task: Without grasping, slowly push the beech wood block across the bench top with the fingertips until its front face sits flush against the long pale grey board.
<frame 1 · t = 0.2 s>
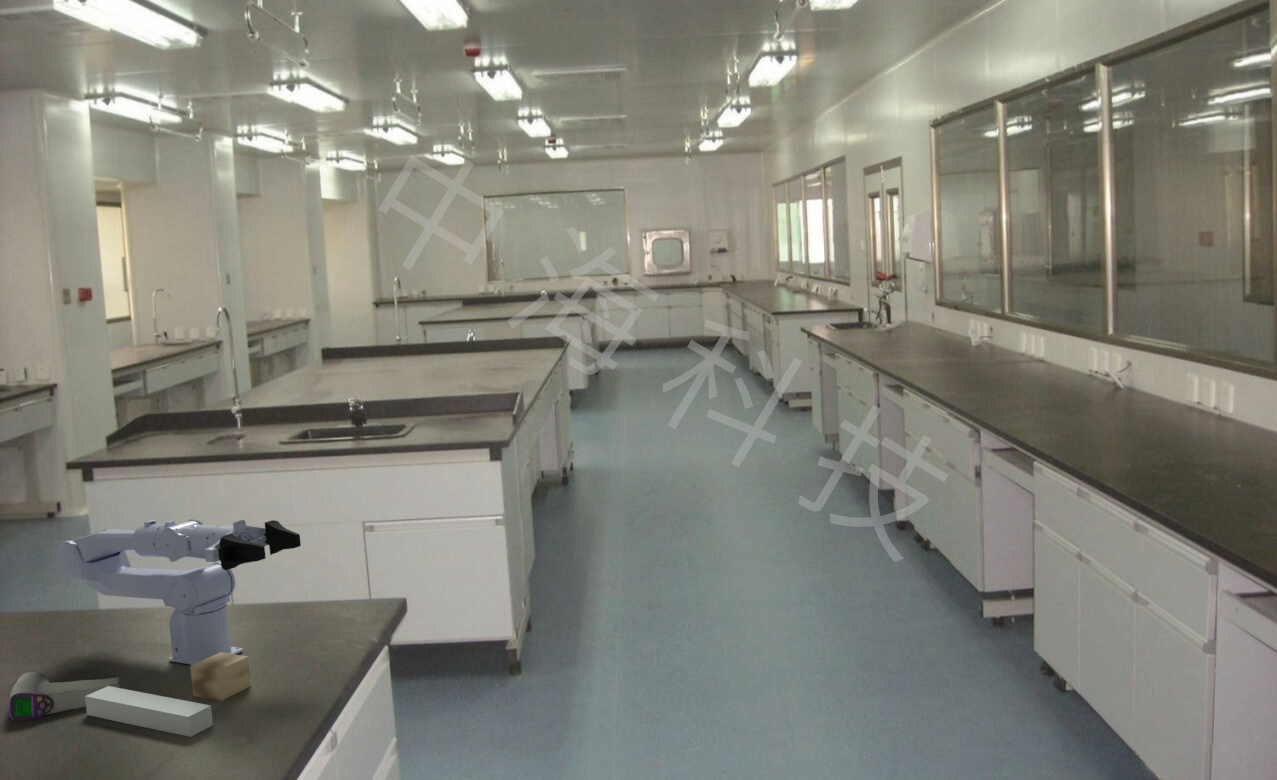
hand: (281, 546, 169), 21 cm above the counter, fingers open, 7 cm apart
block: (222, 691, 165), on the counter
infrared thermometer: (68, 701, 165), on the counter
board: (148, 720, 155), on the counter
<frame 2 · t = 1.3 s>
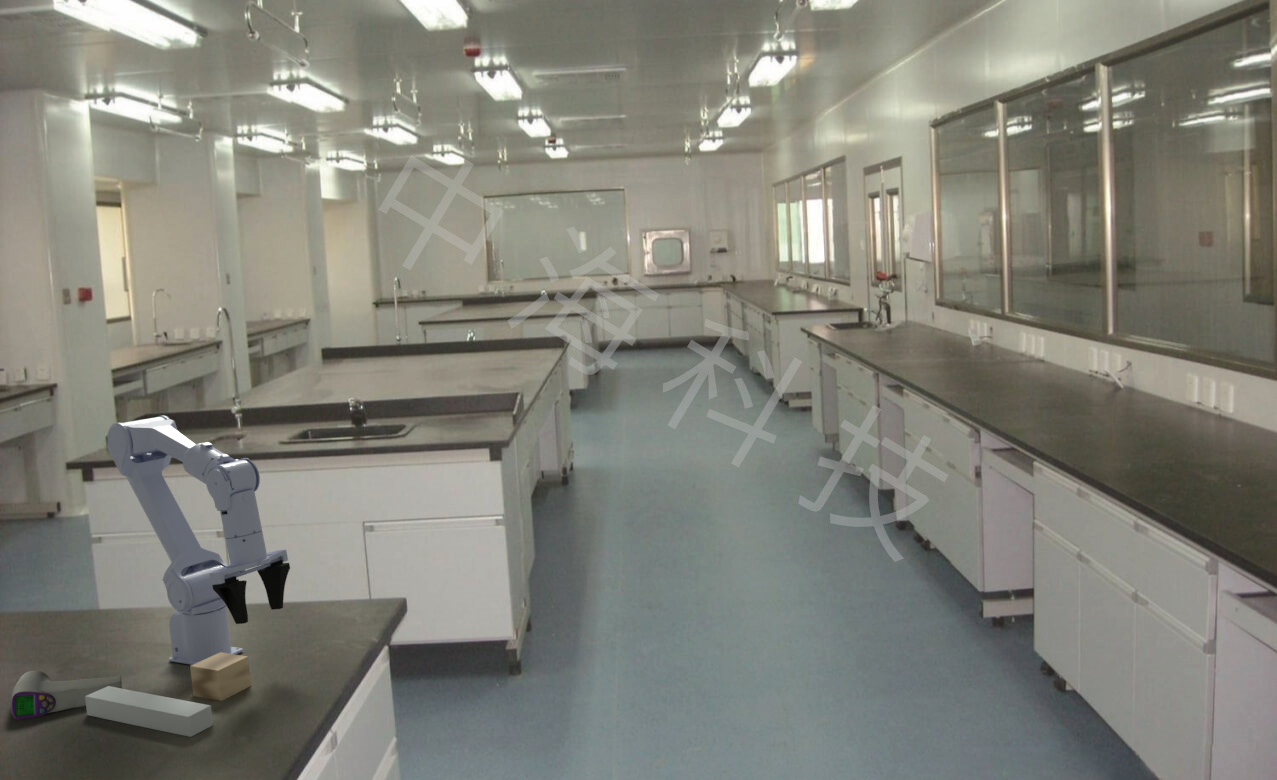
hand: (259, 615, 170), 10 cm above the counter, fingers open, 7 cm apart
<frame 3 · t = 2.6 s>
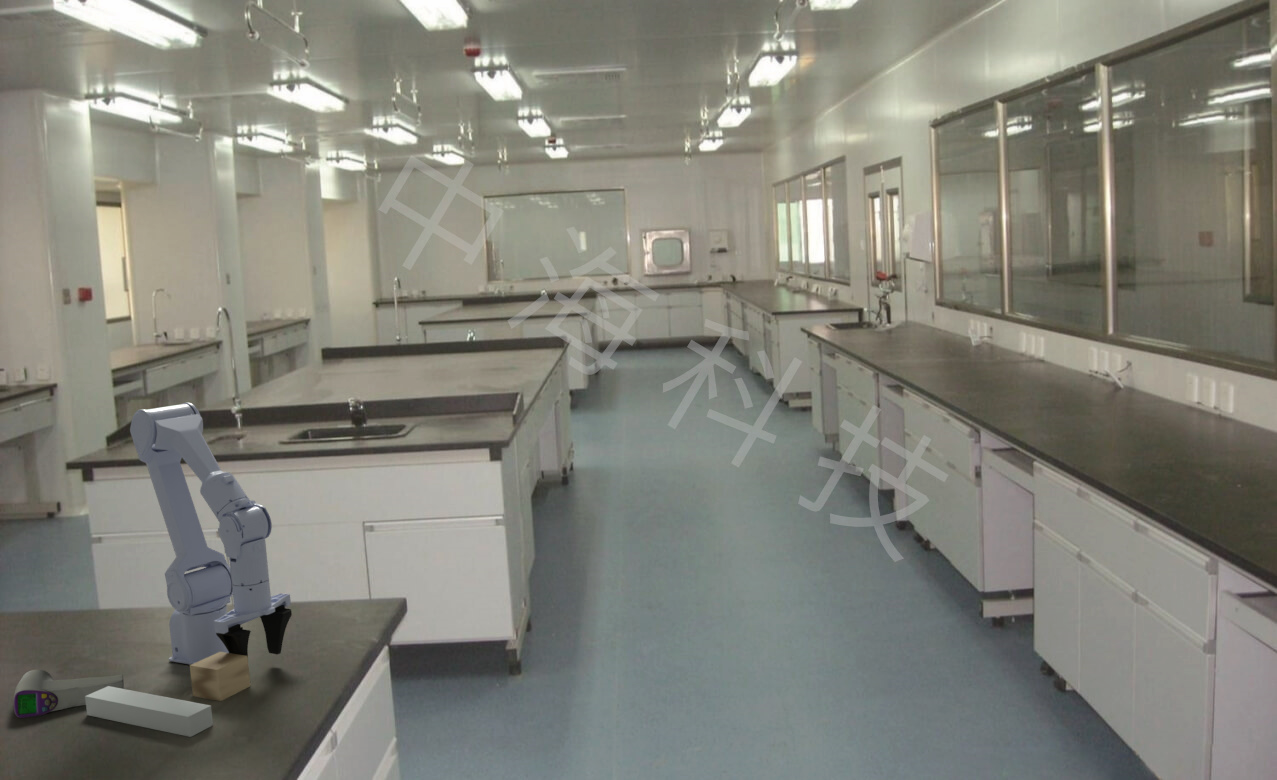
hand: (258, 661, 171), 2 cm above the counter, fingers open, 7 cm apart
block: (222, 691, 165), on the counter, touching gripper
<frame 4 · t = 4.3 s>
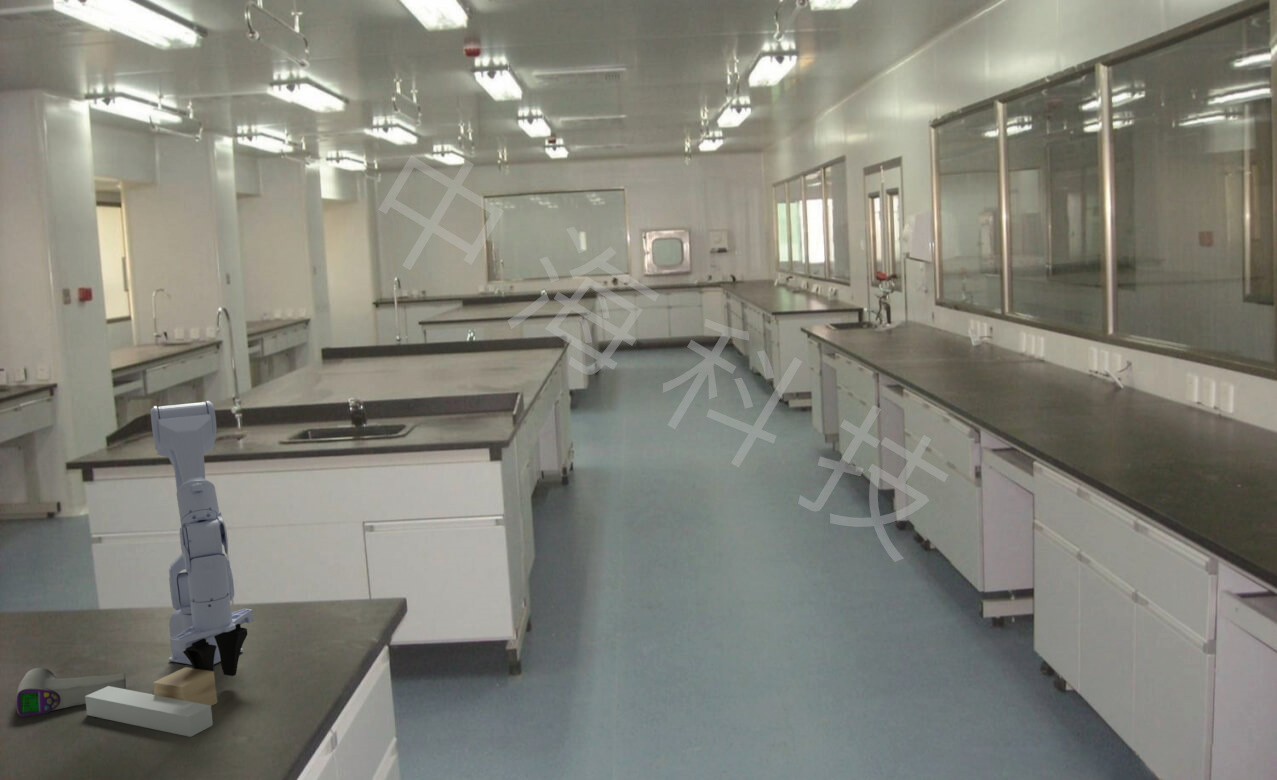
hand: (218, 680, 164), 2 cm above the counter, fingers open, 4 cm apart
block: (187, 708, 158), on the counter, touching board, gripper
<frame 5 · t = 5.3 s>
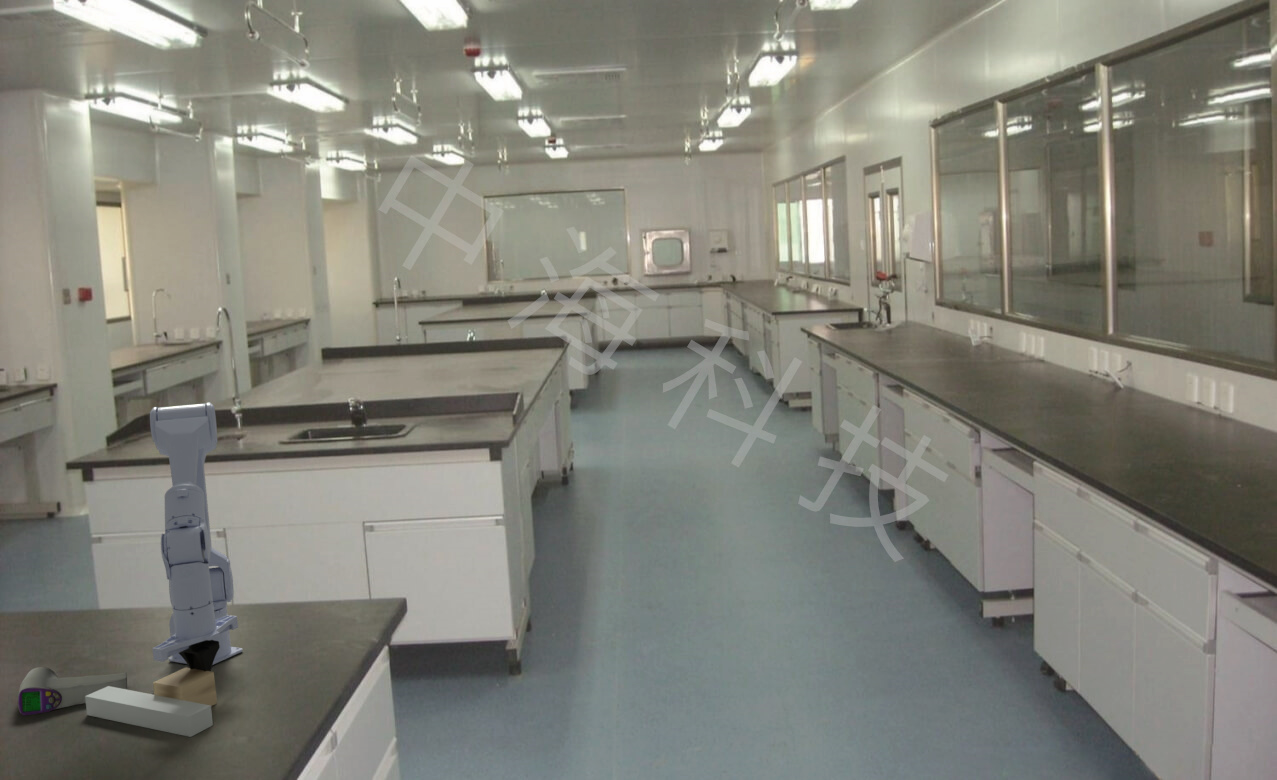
hand: (202, 688, 161), 2 cm above the counter, fingers closed, pressing on block
block: (187, 708, 158), on the counter, touching board, gripper
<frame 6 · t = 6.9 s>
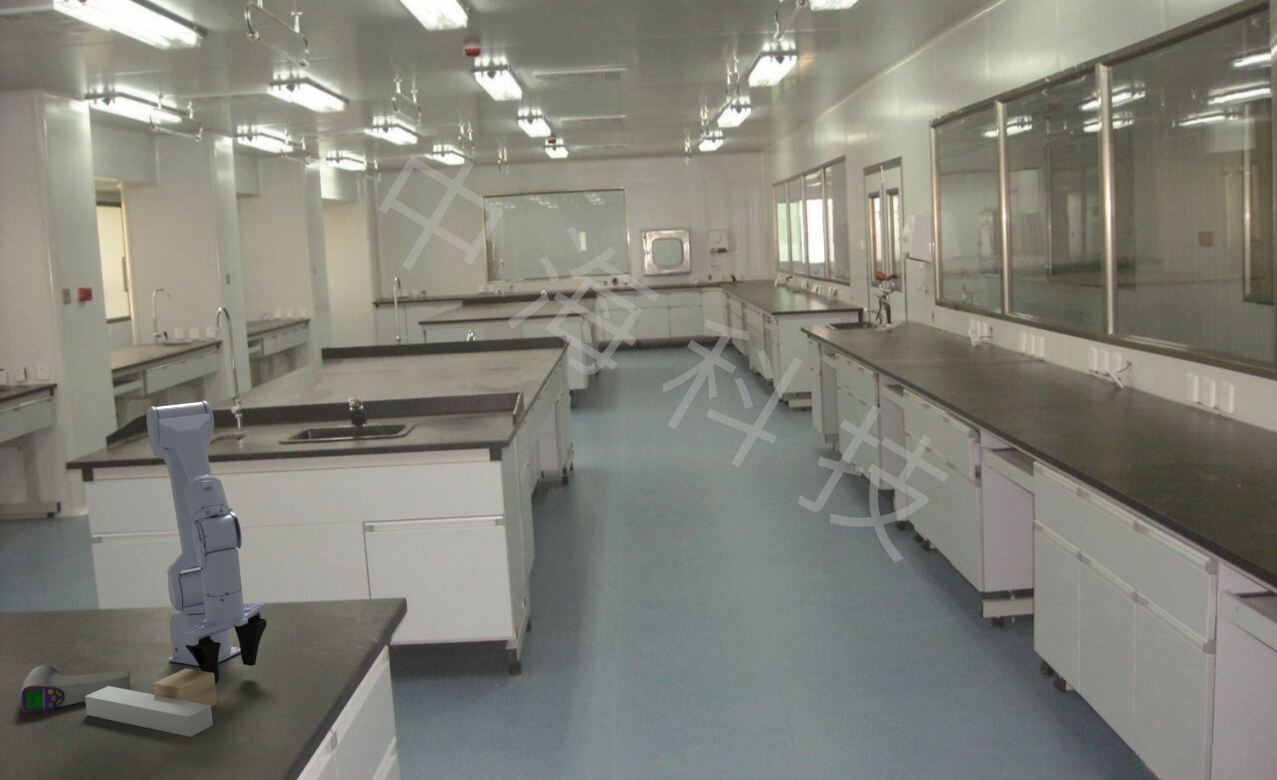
hand: (231, 673, 166), 2 cm above the counter, fingers open, 7 cm apart
block: (187, 709, 158), on the counter
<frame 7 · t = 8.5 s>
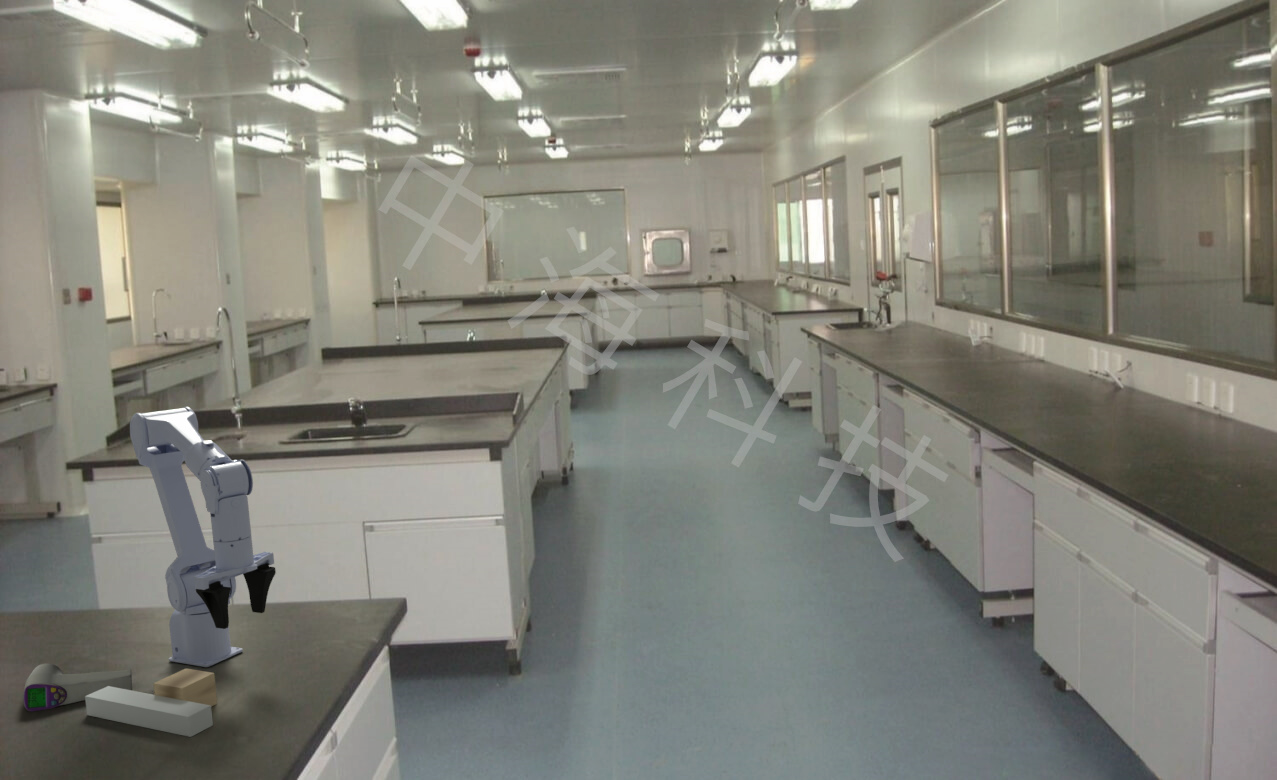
hand: (240, 619, 168), 10 cm above the counter, fingers open, 7 cm apart
at the end: block inside the target area on the counter beside the board (0.4 cm from its centre), on the counter; block tilted 0° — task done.
